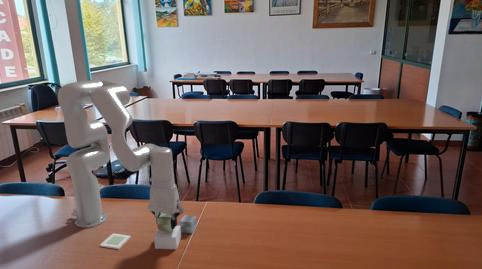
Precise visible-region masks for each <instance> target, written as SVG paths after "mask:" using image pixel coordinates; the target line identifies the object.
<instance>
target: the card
mask: <svg viewBox="0 0 482 269" xmlns="http://www.w3.org/2000/svg"><path fill="white" fill-rule="evenodd" d="M131 237H132V236H131V235H127V234H121V233H111V234H110V235H109V236H108V237H106V239H105V240H103V241H102V242H101V243H100V244H99V247H100V248H101V247H102V248H103V247H104V248H108V249H114V250H115V249H116V250H120V249H121V248H122V247H123V246H124V245H125V244H126V243H127V242H128V241H129V240H130V239H131Z"/></svg>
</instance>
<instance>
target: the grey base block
mask: <svg viewBox="0 0 482 269" xmlns="http://www.w3.org/2000/svg"><path fill="white" fill-rule="evenodd" d="M153 238H154V239H153V241H154V249H155V250H158V249H161V250H177V249H178V248H179V244H180V242H181V239H182V232H181V226H180V225H177V226H176V227H175V228H174V229H173V230H172V231H171V232H164V231H158V229H157V230H156V232H155V235H154V237H153Z"/></svg>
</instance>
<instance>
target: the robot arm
mask: <svg viewBox="0 0 482 269" xmlns="http://www.w3.org/2000/svg"><path fill="white" fill-rule="evenodd" d="M130 100H131V95H130V92H129V90H128V89H127V88H126V87H125V86H124V85H122V84H120V83H116V82H112V81H109V80H108V81H107V80H103V79H91V80H81V81H73V82H70V83H67V84H63V85H62V86H61V87H59V90H58V92H57V102H58V105H59V107H60V109H61V113H62V115H63V116H62V117H63V122H64V128H65V135H66V136H65V137H66V140H67V143H68V145H69V146H70V147H71V148H73V149H79V150H76V151H74V152H72V153H71V154H69V155H68V157H67V158H66V167H67V171H68V172H69V175H70V178H71V182H72V188H73V192H74V193H73V194H74V197H75V199H74V200H75V204H76V205H75V206H76V208H73V209H72V212H71V216H72V217H76V218H75V220H74V224H75V226H76V227H77V228H81V229H83V228H84V229H88V228H93V227H96V226H99V225H101V224H103V223H104V222H105V221H106V220H107V219H108V215H107V212H104V211H103V206H102V199H101V193H100V192H101V191H100V183H99V181H98V180H99V179H98V178H97V177H96V175H95V174H94V173H93V171H94V170H96V169H99V168H101V167H103V166H105V165H108V163H109V162H110V159H111V151H110V142H109V134H108V130H107V126H106V125H105V124H104V123H103V122H102V121H100V120H98V119H97V120H96V119H93V120H89V117H88V113H87V109H85V107H84V106H83V105H85V104H91V103H92V104H93V105H94V107H95V108H96V110H97V112H98V113H99V114H100V116H101V118H103V120H104V121H105V123H106V124H107V125H108V127H109V128H110V130H111V134H110V135H111V137H110V138H111V139H110V141H111V147H112V150H113V153H114V155H115V156H116V158H117V160H118V161H119V162H120V163H121V165H122V166H123V167H124V168H125V169H126V170H127V171H129V172H137V171H140V170H142V169H143V168H144V169H145V168H146V167H148V166H150V169H151V170H150V171H151V177H149V179H148V180H149V182H151V183H152V184H151V185H150V189H149V204H148V205H147V206H146V209H147V210H148V211H149V212H151V213H152V215H154V218H155V221H156V222H157V218H158V217H159V216H160V215H161V214H162V213H167V214H170V215H171V218H172V219H171V228H172V229H174V228H175V227H176V226H178V217H179V216H180V215H183V213H184V212H185V210H186V209H185V208H184V207H183V206H182V205H181V201H180V195H179V190H178V187H177V184H176V183H175V174H174V163H173V162H174V160H173V151H172V149H171V148H169V147H165V146H158V145H156V144H154V143H145V144H143V145H141V146H137V147H135V148H131V147H130V145H129V144H128V141H127V140H126V134H125V133H126V129H127V128H129V127H130V126H131V124H132V123H133V121H134V120H133V116H132V115H131V113H130V112H129V110H127V108H126V107H125V106H127V105H128V104H129V103H130ZM88 146H89V147H88ZM85 147H86V148H85ZM81 148H82V149H81ZM156 225H157V227H158V224H157V223H156Z"/></svg>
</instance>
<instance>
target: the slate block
mask: <svg viewBox="0 0 482 269" xmlns="http://www.w3.org/2000/svg"><path fill="white" fill-rule="evenodd" d="M179 226H181V234H182V233H183V234H188V235H189V234H190V235H191V234H193V233H194V232H195V230H196V229H197V227H198V226H197V216H195V215H189V214H188V215H187V214H185V215H183V216H182V217H181V218H180V220H179Z"/></svg>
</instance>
